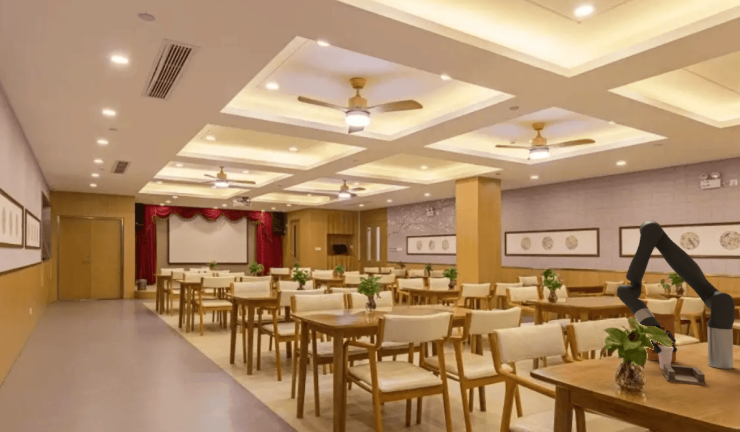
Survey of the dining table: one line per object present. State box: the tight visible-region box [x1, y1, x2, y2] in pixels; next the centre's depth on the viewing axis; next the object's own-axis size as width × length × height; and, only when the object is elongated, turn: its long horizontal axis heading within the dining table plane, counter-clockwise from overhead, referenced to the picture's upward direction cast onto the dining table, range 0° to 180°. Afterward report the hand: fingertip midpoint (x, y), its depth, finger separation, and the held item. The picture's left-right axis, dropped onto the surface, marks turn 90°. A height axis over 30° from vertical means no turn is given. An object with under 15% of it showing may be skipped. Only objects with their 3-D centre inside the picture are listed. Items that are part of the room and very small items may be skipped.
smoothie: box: [658, 345, 674, 371], centre depth 219 cm, size 6×6×14 cm
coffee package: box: [645, 311, 677, 363], centre depth 237 cm, size 10×12×22 cm
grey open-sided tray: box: [661, 364, 707, 386], centre depth 203 cm, size 13×13×4 cm
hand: (667, 352), depth 218 cm, fingers open, 7 cm apart
